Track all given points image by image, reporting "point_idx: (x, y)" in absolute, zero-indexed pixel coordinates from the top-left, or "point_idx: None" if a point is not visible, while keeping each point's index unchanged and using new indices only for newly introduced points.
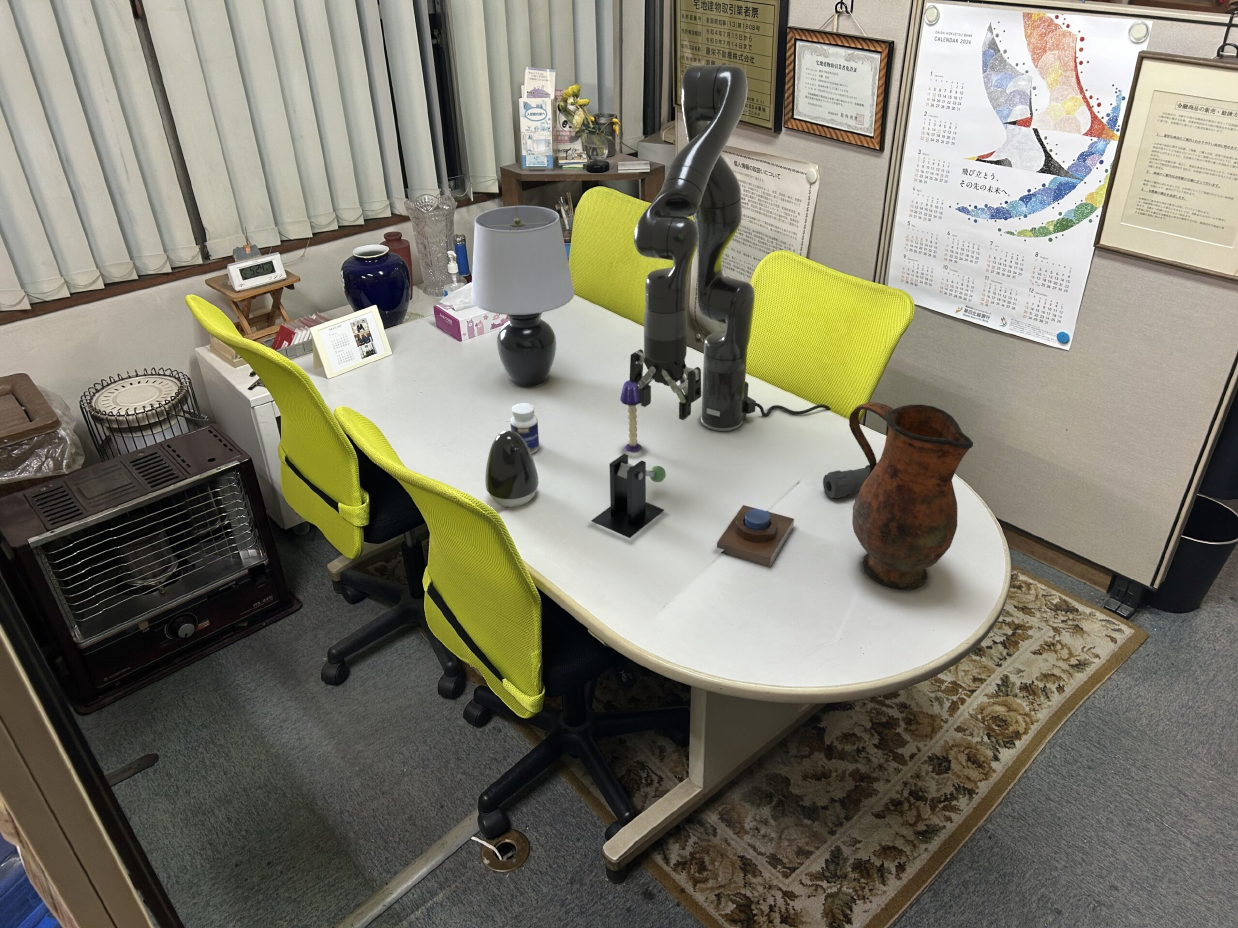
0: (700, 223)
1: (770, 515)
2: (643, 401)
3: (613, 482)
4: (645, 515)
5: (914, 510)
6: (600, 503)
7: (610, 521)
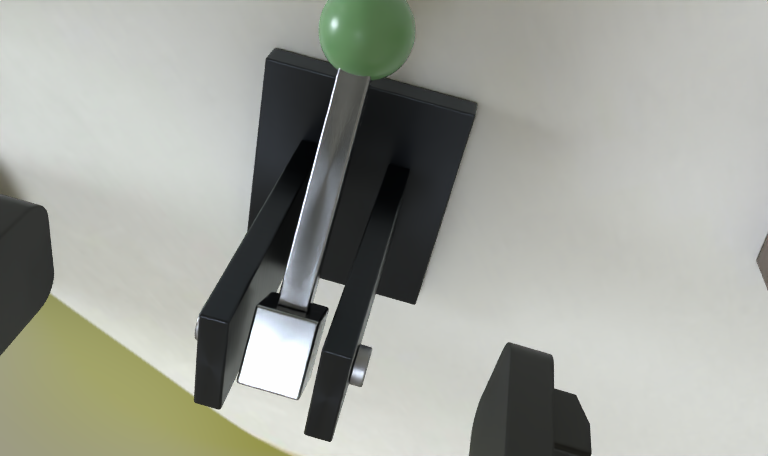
0: None
1: None
2: (6, 342)
3: None
4: (413, 177)
5: None
6: (199, 113)
7: None
